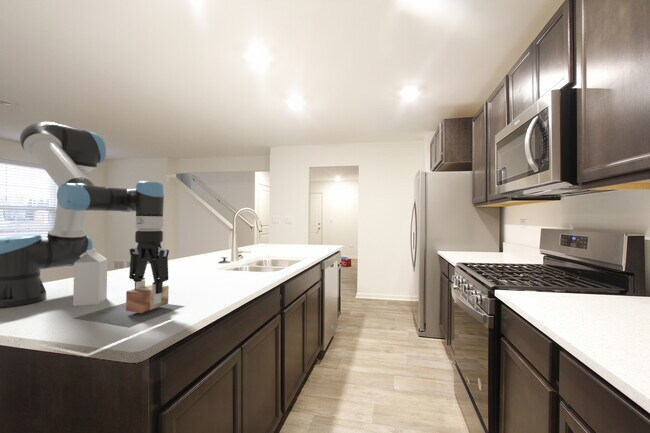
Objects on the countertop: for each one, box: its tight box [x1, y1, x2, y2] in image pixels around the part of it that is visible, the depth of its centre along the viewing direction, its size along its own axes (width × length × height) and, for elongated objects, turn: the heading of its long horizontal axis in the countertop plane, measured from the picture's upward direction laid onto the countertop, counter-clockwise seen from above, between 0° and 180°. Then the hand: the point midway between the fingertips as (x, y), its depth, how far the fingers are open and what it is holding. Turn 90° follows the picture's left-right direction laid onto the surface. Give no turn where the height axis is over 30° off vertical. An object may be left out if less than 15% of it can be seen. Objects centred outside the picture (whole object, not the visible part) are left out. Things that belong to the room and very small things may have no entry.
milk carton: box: [72, 248, 108, 307], centre depth 101 cm, size 7×7×19 cm
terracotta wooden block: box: [125, 284, 170, 313], centre depth 92 cm, size 10×6×6 cm, turn 163°
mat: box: [73, 302, 185, 328], centre depth 91 cm, size 22×20×1 cm
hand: (148, 302), depth 92 cm, fingers closed on terracotta wooden block, 6 cm apart
